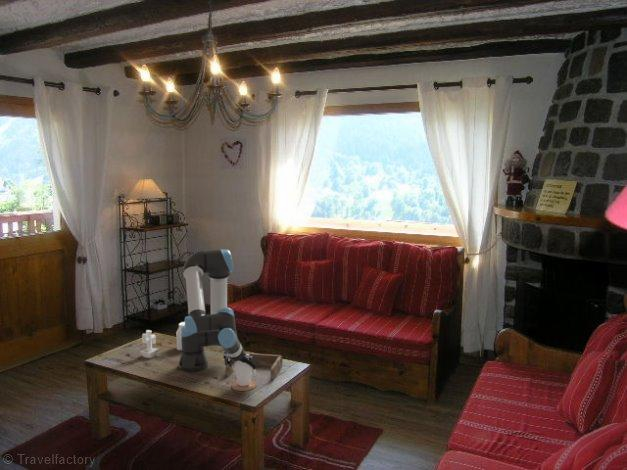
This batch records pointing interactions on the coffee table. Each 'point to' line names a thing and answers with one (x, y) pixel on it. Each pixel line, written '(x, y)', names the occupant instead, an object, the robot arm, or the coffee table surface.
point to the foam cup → (243, 373)
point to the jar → (179, 336)
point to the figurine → (149, 344)
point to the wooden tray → (264, 363)
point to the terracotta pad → (244, 388)
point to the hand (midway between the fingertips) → (245, 370)
